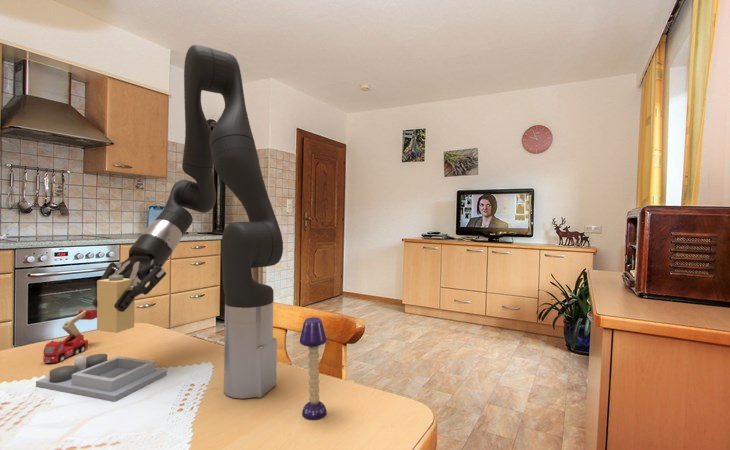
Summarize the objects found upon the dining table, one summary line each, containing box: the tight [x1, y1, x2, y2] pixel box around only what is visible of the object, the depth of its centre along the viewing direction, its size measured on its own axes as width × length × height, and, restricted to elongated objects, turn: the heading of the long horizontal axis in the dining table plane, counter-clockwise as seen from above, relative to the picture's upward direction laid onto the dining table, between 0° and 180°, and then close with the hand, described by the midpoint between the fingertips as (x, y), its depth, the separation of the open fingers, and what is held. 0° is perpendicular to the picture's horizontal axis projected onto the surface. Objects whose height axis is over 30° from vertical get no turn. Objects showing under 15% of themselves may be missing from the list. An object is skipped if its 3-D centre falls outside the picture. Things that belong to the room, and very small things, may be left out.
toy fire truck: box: [42, 309, 97, 364], centre depth 90 cm, size 3×14×10 cm, turn 179°
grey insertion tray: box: [35, 353, 168, 402], centre depth 76 cm, size 20×12×4 cm, turn 74°
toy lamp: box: [299, 316, 327, 421], centre depth 64 cm, size 5×5×17 cm
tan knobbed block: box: [96, 275, 135, 334], centre depth 75 cm, size 5×4×11 cm
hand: (107, 307), depth 73 cm, fingers closed on tan knobbed block, 5 cm apart
